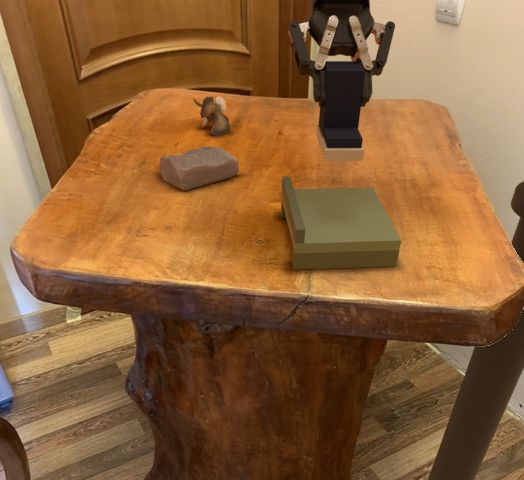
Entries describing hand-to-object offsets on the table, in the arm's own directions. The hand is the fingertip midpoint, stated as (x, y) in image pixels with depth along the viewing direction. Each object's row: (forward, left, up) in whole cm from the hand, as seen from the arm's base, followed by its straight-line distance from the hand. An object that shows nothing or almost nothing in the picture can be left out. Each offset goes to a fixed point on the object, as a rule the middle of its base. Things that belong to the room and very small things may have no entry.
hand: (343, 103), depth 71 cm
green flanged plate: (0, +3, -18) cm, 18 cm away
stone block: (+20, -20, -18) cm, 34 cm away
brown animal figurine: (+17, -43, -18) cm, 50 cm away
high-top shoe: (0, 0, -6) cm, 6 cm away
